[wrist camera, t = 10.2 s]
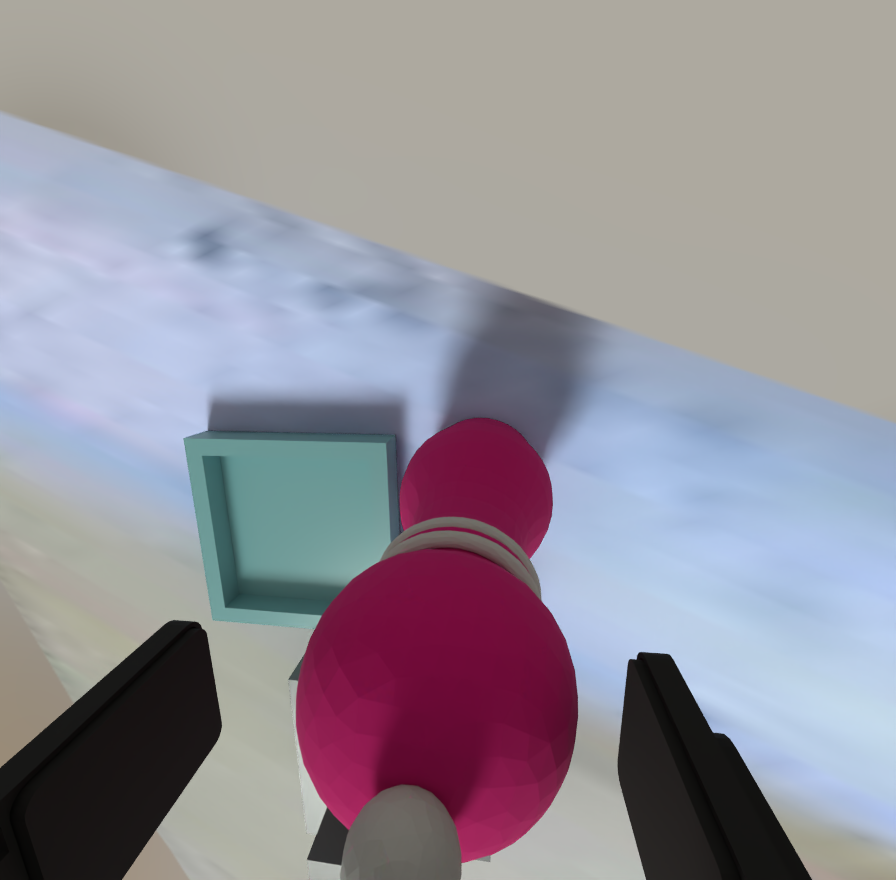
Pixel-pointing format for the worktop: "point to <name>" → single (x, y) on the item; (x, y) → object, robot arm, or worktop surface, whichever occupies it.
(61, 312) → the worktop surface
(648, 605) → the worktop surface
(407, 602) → the pepper mill
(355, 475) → the tray
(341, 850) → the block
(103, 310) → the worktop surface
